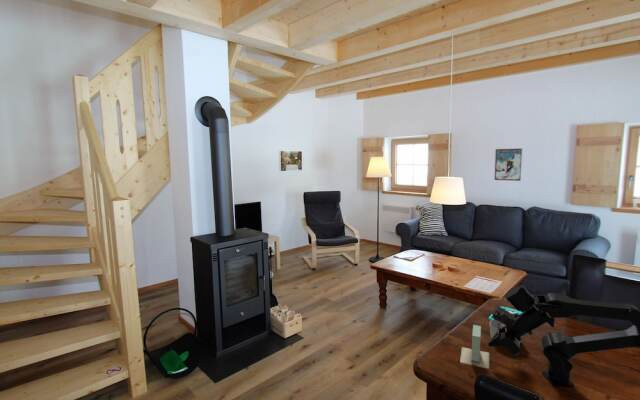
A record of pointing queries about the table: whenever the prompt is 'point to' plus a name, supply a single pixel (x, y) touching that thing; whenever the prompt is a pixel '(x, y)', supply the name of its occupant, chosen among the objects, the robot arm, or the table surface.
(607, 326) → the table surface
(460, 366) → the table surface
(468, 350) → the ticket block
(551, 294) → the robot arm
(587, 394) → the table surface
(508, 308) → the handheld game console
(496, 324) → the teacup
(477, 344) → the pale mint rectangular box
